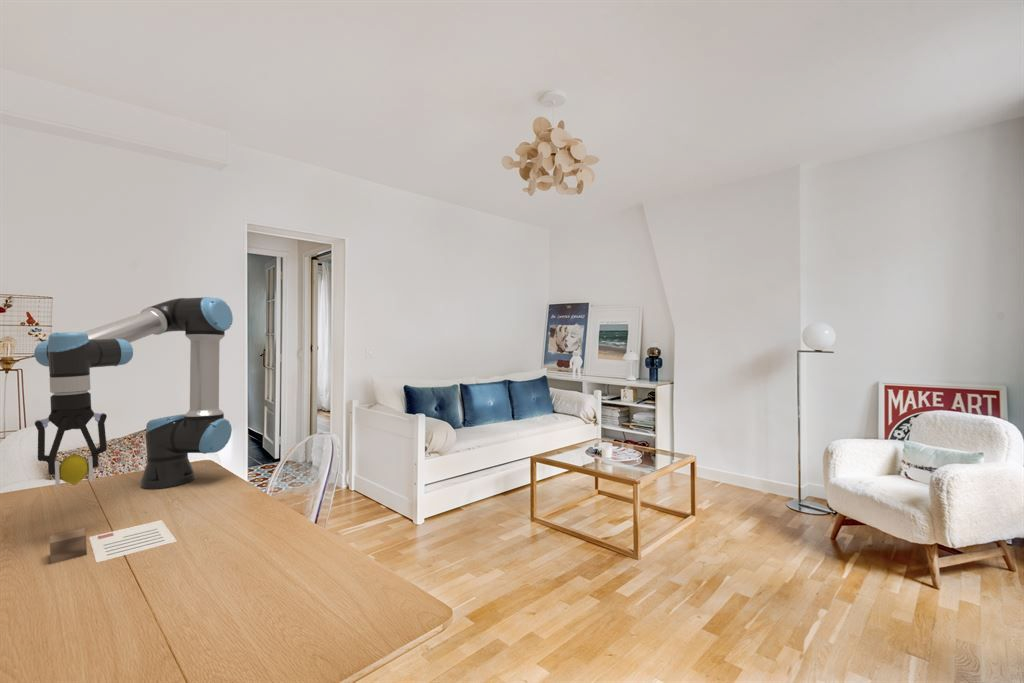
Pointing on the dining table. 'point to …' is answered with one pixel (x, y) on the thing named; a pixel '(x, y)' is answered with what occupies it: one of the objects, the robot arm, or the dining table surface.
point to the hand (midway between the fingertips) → (74, 483)
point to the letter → (130, 540)
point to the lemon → (73, 469)
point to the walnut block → (68, 545)
